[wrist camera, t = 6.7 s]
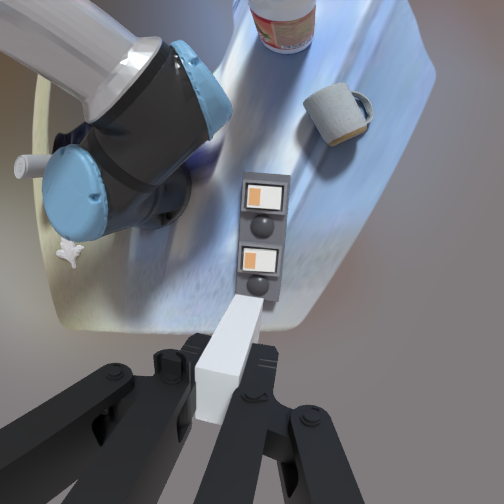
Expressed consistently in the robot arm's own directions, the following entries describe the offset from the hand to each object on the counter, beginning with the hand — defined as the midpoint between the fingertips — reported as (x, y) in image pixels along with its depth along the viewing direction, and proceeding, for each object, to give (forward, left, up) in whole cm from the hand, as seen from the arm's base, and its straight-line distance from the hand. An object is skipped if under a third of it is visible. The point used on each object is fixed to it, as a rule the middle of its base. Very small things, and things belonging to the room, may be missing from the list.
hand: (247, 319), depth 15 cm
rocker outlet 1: (-3, +5, -28) cm, 29 cm away
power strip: (-3, -2, -33) cm, 33 cm away
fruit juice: (-1, +34, -33) cm, 48 cm away
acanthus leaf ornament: (-46, -9, -34) cm, 58 cm away
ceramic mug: (+8, +19, -33) cm, 39 cm away
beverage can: (-49, +10, -33) cm, 60 cm away
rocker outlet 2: (-3, -5, -28) cm, 29 cm away
